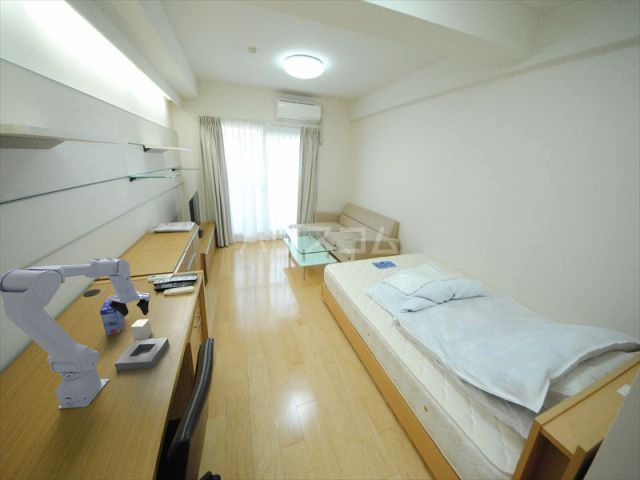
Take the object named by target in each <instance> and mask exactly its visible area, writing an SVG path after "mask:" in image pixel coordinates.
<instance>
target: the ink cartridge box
mask: <svg viewBox="0 0 640 480" xmlns="http://www.w3.org/2000/svg"><path fill="white" fill-rule="evenodd" d="M111 304H112V302H111V303H109V302H108V300H107V299H105V300H104V302H103V305H102V307H101V308H100V310H99V314H100V318H101V321H102V324H103V327H104V332H105V336H109V335H115V334H119V333H122V332H123V328H124V326H125V323H126V318H125V317H126V316H123V315H122V314H121V313H120V312H119V311H117V310H116V309H113V308H111V307H110V305H111Z"/></svg>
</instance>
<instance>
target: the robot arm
mask: <svg viewBox="0 0 640 480" xmlns="http://www.w3.org/2000/svg"><path fill="white" fill-rule="evenodd" d="M24 268H25V267H24ZM130 269H131V263H130V262H128V261H127V260H125V259H121V258H118V259H117V258H111V257H108V258H105V259H101V258H100V257H94V258H93V257H92V259H91V260H87V261H85V262H84V263H83V264H67V265H65V264H62V265H61V264H60V265H59V264H58V265H57V264H56V265H44V266H43V265H42V266H33V267H31V266H30V267H27V268H25V269H19V268H18V269H11V270H9V271H7V272H5V273H4V274H3V275H1V277H0V296H1V298H2V301H3V302H2V303H3V307H4V312H5V316H6V317H7V319H8V320H10V321H11V322H12V323H13V324H14V325H15V326H16V327H18V328H19V329H20V330H21V331H22V332H23V333H25V335H26V336H28V337H29V338H30V339H31V340H32V341H34V342H35V343H36V344H37V345H38V346H39V347H40V348H41V349H43V350H44V351H45V352H46V353H47V354H48V356H47V358H46V361H47V362H48V364H49V368H50V370H51V372H54V373H58V374H59V376H61V377H62V378H61V381H60V384H59V385H58V386H57V388H55V391H54V394H55V396H56V398H57V401H58V403H59V405H58V409H72V408H73V409H74V408H86V407H87V406H89V405H90V404H91V403H92V402H93V400H94V399H95V398H96V396H97V395H98V394H99V393H100V391H102V389H103V388H105V386H106V385H107V383H108V382H109V378H101V377H100V374H99V372H98V368H97V365H98V363H99V360H100V353H99V351H98V350H96V349H92V348H90V347H89V346H88V345H87V346H86V345H84V344H81V343H78V342H77V341H76V340H75V339H73V338H72V336H70V334H69V333H68V332H67V331H66V330H65V329H64V328H63V327H62V326H61V325H60V324H59V323H58V322H57V321H56V320H55V319H54V318H53V317H52V316H51V315H50V314H49V313H48V312H47V311H46V309H45V307H47V306H48V305H49V304H50V302H51V300H52V299H53V298H54V296H55V295H56V294H57V292H58V290H59V289H60V287H61V285H62V284H65V282H66V278H70V277H76V276H77V277H78V276H85V277H86V278H88V279H94V278H101V277H102V278H104V277H108V279H109V281H110V283H111V285H112V287H113V289H114V291H115V294H112V295H111V294H110V295H109V296H108V297H107V298H106V300H108V302H109V303H111V302H112V304H111V305H110V307H111V308H113V309H116V310H117V311H119V312H120V313H121V314H122V315H123V316H124V317H127V316H128V314H129V313H130V312H129V309H128V306H127V304H128V303H132V302H136V301H137V302H138V303H137V304H136V306H137V307H138V308H139V309H140V311H141V313H142V315H144V316H147V315H148V314H149V304H150V300H151V298H152V297H151V293H144V292H140V291H138V289H136V287H135V284H134V282H133V279H132V277H131V271H130Z"/></svg>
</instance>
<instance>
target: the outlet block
mask: <svg viewBox="0 0 640 480" xmlns="http://www.w3.org/2000/svg"><path fill="white" fill-rule="evenodd" d="M169 345H170V342H169V338H168V337H157V338H148V339H136V340H135V341H133V342H132V343H131V344H130V345H129V346H128V348H127V349H126V350H125V351H124V352H123V353H122V354H121V356H120V357H119V358H118V359H117V360H116V361H115V362H114V367H115V369H116V371H122V370H123V371H124V370H126V371H127V370H142V369H145V370H146V369H153V368H154V366H156V364H157V362H159V360H160V358H161V356H162V355H163V354H164V352H165V351H166V349H167V348H168V346H169Z"/></svg>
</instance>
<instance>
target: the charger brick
mask: <svg viewBox="0 0 640 480" xmlns="http://www.w3.org/2000/svg"><path fill="white" fill-rule="evenodd" d="M151 326H152V325H151V322H150V319H148V318H147V319H145V318H143V319H136V321H135V322H134V323H132V325H131V326H130V329H131V330H130V331H131V333H132V336H133V337H132V338H133V340H134V341H135V340H136V339H150V336H151V335H152V334H153V330H152V327H151ZM134 341H133V342H134Z"/></svg>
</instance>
